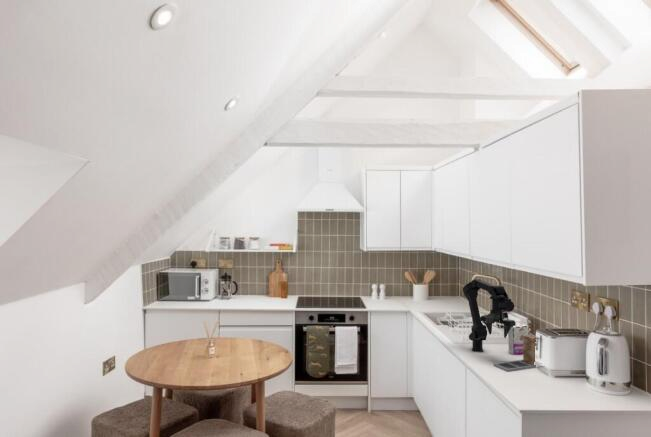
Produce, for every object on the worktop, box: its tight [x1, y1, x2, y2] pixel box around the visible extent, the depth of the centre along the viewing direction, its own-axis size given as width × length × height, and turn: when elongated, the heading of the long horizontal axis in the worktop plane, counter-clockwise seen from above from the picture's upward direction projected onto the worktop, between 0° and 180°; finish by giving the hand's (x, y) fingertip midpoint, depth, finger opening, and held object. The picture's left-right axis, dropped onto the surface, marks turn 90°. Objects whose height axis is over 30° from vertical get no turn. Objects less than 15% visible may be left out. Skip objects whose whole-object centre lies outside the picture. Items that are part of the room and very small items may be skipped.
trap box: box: [493, 359, 536, 373], centre depth 225 cm, size 25×10×2 cm, turn 111°
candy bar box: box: [507, 323, 530, 356], centre depth 249 cm, size 11×5×16 cm, turn 105°
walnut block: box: [522, 334, 537, 365], centre depth 228 cm, size 5×5×15 cm
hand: (497, 336), depth 238 cm, fingers open, 9 cm apart
